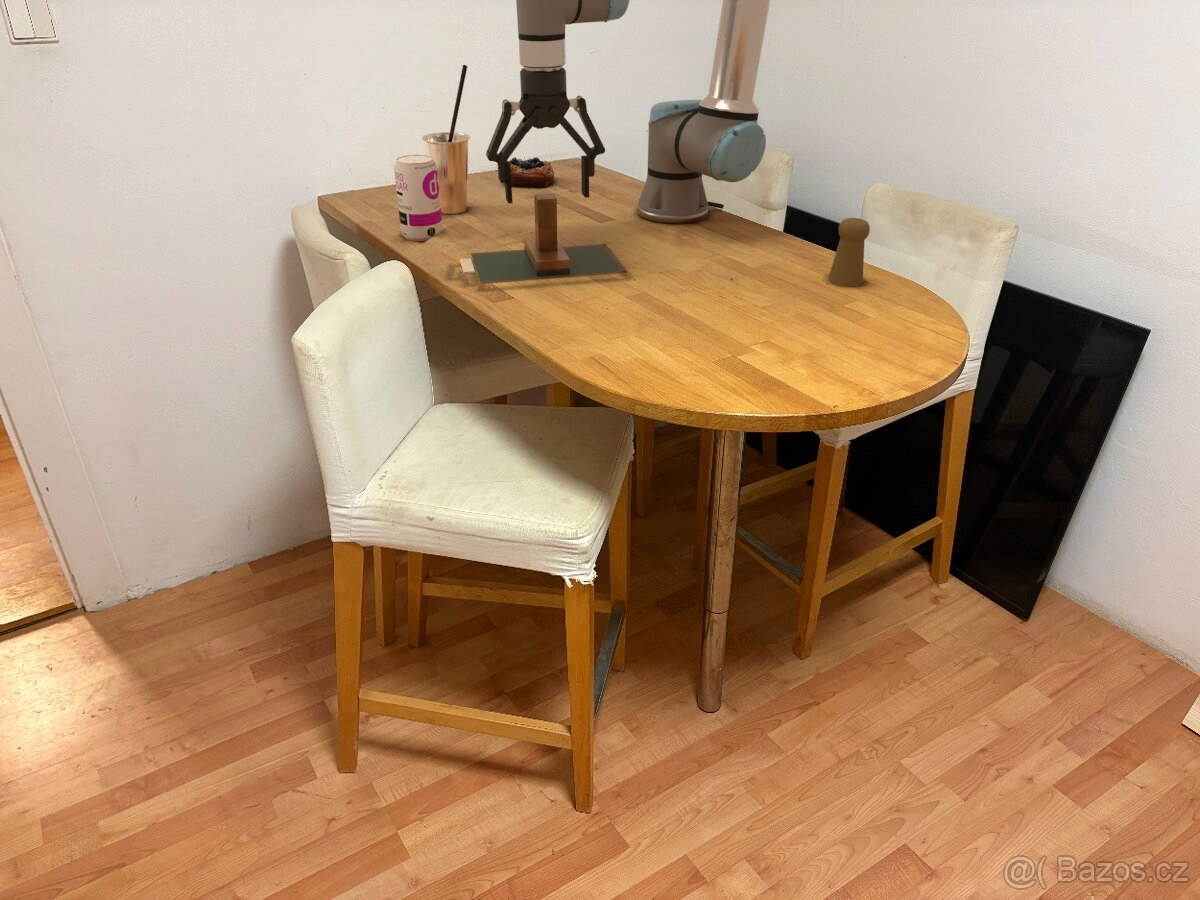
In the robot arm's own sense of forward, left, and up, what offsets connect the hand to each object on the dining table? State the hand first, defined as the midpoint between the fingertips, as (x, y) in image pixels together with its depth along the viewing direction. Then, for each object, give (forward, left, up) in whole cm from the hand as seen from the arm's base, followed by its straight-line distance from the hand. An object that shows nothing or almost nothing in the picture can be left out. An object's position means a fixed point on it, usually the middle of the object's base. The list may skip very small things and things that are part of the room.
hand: (547, 198), depth 151 cm
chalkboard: (0, 0, -13) cm, 13 cm away
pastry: (-7, -60, -13) cm, 62 cm away
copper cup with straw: (+13, -40, -13) cm, 44 cm away
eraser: (0, 0, -12) cm, 12 cm away
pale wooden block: (+15, -1, -12) cm, 19 cm away
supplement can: (+21, -24, -13) cm, 35 cm away
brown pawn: (-51, +17, -13) cm, 55 cm away
